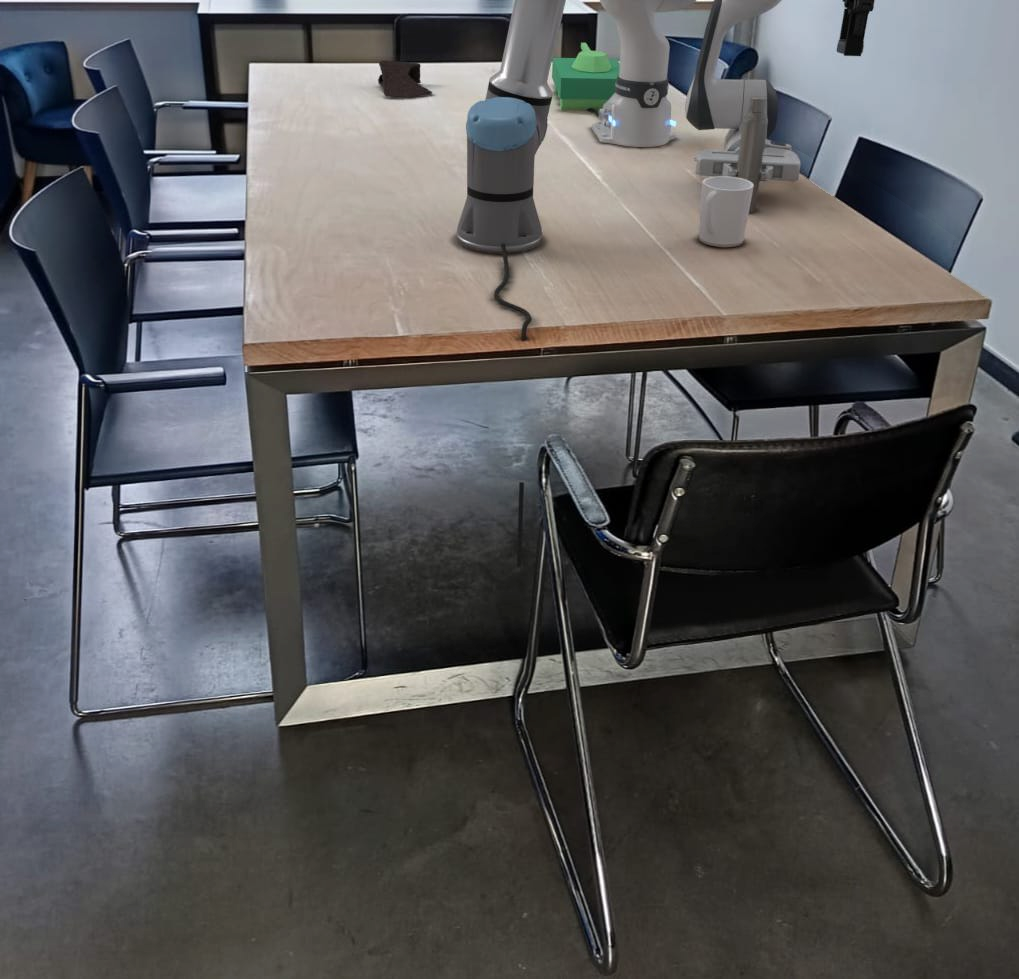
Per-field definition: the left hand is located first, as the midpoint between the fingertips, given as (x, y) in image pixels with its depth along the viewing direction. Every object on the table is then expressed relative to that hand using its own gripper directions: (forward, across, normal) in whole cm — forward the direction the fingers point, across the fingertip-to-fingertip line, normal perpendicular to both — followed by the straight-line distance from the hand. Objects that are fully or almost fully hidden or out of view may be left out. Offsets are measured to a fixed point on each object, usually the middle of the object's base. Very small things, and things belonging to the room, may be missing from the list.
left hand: (849, 52), depth 184 cm
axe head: (+32, +113, +92) cm, 149 cm away
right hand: (+25, +15, +12) cm, 31 cm away
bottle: (+32, +16, +12) cm, 37 cm away
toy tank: (+32, +111, +42) cm, 123 cm away
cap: (-2, 0, 0) cm, 2 cm away
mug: (+32, -5, +19) cm, 37 cm away
